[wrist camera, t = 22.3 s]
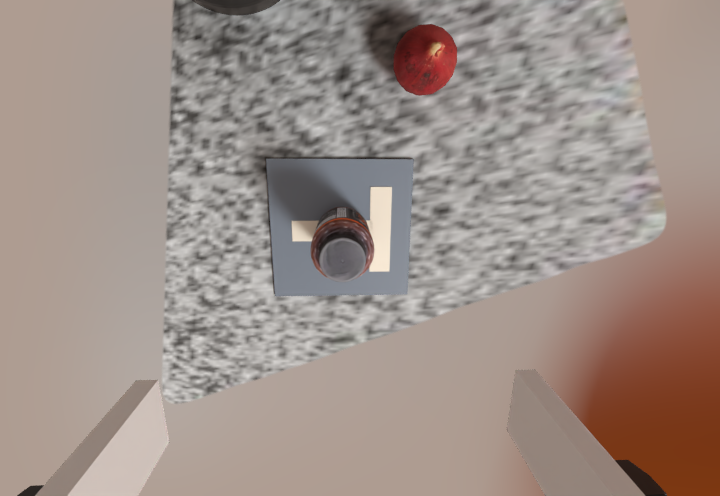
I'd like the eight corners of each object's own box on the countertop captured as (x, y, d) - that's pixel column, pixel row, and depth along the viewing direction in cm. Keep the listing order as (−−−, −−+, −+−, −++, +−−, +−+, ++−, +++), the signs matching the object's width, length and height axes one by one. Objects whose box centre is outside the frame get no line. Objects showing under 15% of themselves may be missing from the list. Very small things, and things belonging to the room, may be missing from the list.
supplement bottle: (377, 241, 41) (390, 275, 30) (332, 264, 41) (329, 306, 30) (353, 195, 39) (357, 214, 28) (306, 220, 40) (293, 248, 29)
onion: (432, 107, 37) (455, 97, 30) (381, 89, 37) (391, 73, 29) (452, 49, 36) (482, 23, 28) (399, 29, 35) (416, -4, 28)
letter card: (266, 158, 38) (265, 158, 38) (413, 159, 39) (413, 159, 38) (275, 295, 42) (274, 296, 42) (406, 293, 43) (407, 294, 43)
